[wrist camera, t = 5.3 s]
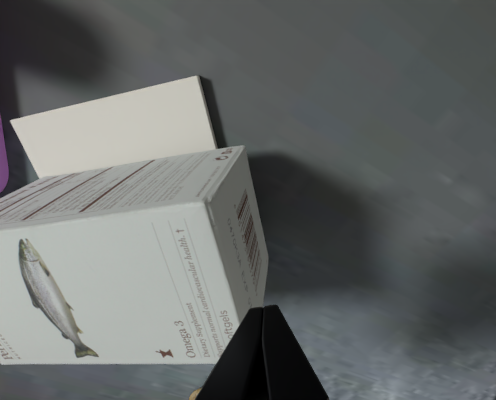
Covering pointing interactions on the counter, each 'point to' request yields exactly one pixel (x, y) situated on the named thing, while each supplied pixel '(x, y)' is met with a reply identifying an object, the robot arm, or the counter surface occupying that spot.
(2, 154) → the bracket
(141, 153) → the mat
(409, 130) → the counter surface
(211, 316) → the supplement box
